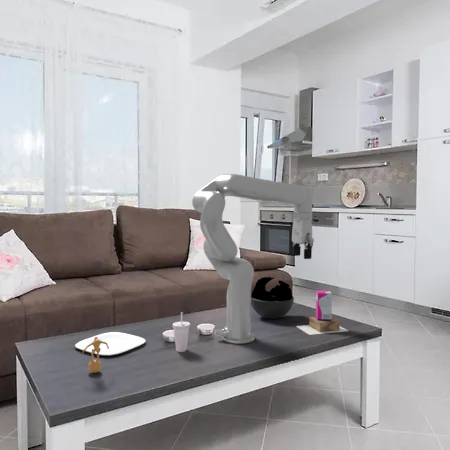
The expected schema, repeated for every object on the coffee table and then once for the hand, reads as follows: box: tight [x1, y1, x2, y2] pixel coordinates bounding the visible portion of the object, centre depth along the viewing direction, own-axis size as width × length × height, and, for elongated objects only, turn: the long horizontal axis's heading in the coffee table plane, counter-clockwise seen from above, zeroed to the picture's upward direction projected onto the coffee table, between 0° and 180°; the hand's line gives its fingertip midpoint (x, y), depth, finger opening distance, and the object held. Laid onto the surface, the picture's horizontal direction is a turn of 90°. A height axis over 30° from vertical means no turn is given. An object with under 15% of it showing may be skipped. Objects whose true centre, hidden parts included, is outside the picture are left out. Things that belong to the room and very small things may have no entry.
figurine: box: [82, 337, 109, 374], centre depth 137 cm, size 8×6×12 cm
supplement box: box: [315, 290, 333, 321], centre depth 184 cm, size 6×6×12 cm
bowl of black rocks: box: [251, 276, 295, 320], centre depth 201 cm, size 20×20×19 cm
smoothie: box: [172, 311, 191, 353], centre depth 159 cm, size 6×6×14 cm
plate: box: [74, 331, 147, 357], centre depth 163 cm, size 22×22×2 cm
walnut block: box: [308, 315, 341, 332], centre depth 184 cm, size 9×9×4 cm
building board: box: [295, 324, 349, 336], centre depth 184 cm, size 18×12×1 cm, turn 108°
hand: (302, 257), depth 185 cm, fingers open, 9 cm apart
